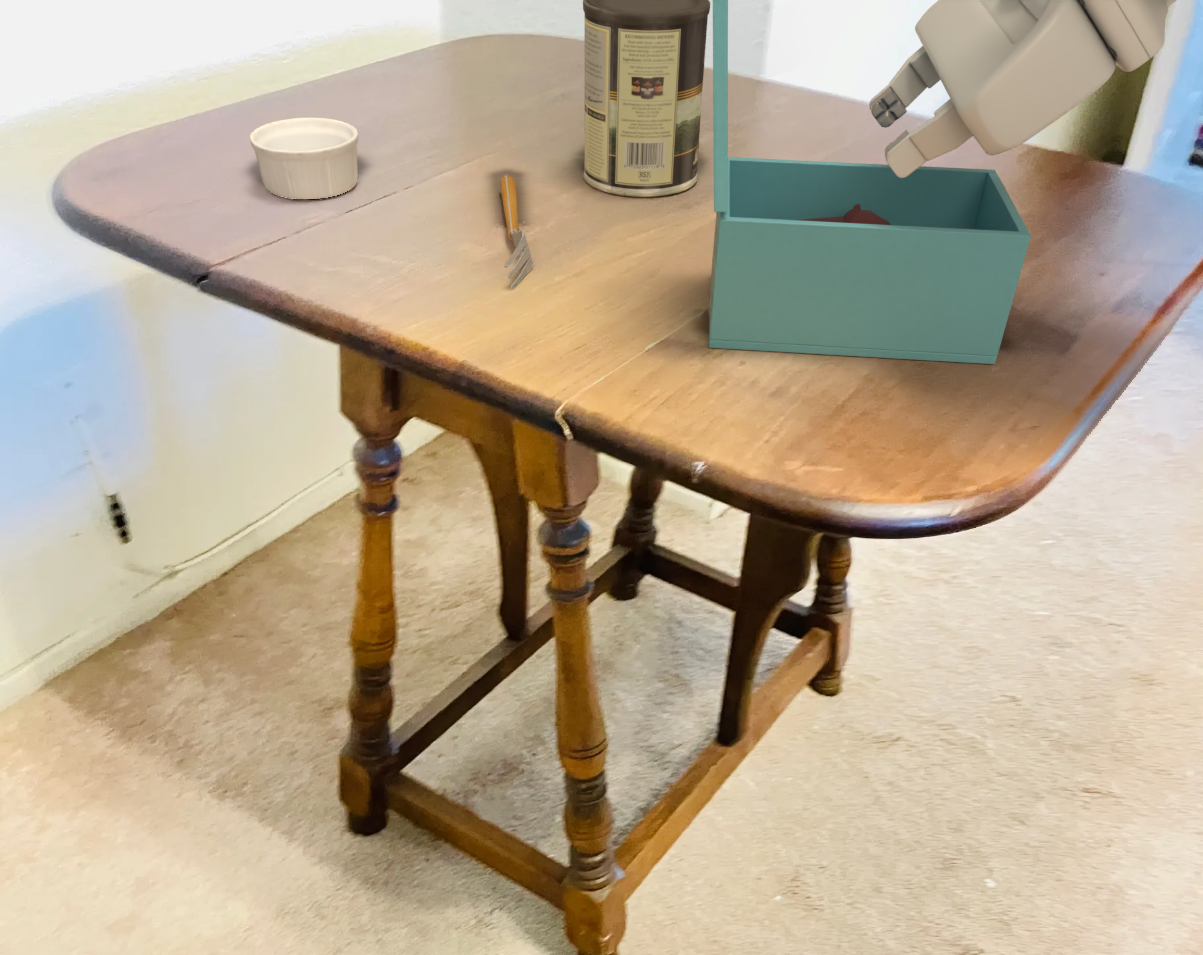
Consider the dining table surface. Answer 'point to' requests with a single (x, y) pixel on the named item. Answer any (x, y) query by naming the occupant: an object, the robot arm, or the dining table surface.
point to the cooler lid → (720, 103)
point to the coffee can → (643, 94)
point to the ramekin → (307, 157)
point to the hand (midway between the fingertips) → (882, 140)
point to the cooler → (865, 261)
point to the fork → (514, 230)
